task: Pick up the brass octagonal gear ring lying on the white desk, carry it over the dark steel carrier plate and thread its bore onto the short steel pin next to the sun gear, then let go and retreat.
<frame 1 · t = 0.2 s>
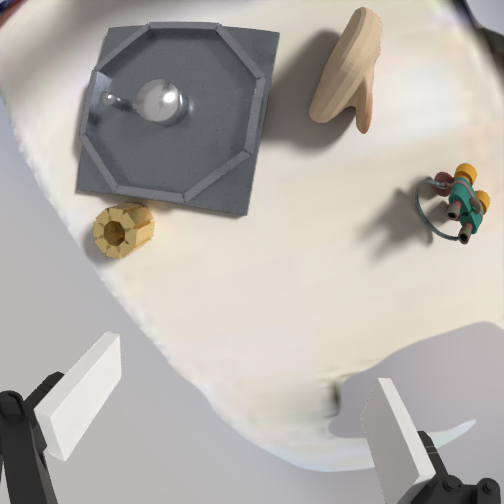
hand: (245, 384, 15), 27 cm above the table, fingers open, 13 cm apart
binoculars: (441, 198, 38), on the table
carrier: (171, 109, 37), on the table
planet gear: (133, 225, 41), on the table
brown rounded piece: (351, 79, 35), on the table
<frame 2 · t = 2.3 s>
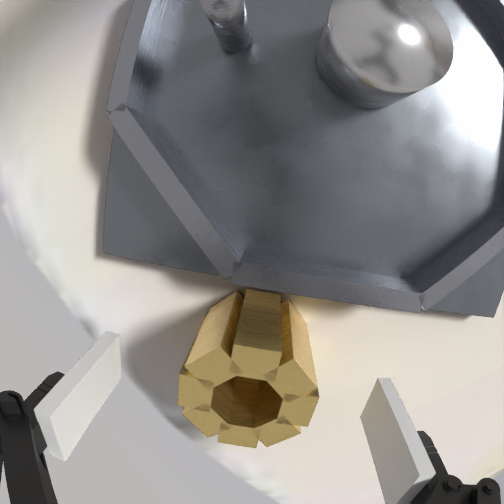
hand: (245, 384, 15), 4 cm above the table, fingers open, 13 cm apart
carrier: (358, 70, 14), on the table
planet gear: (254, 337, 19), on the table
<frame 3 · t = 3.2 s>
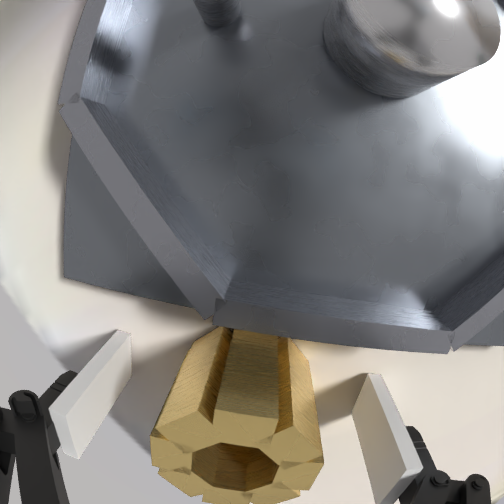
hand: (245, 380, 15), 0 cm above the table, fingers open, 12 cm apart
carrier: (374, 52, 11), on the table
planet gear: (246, 376, 15), on the table
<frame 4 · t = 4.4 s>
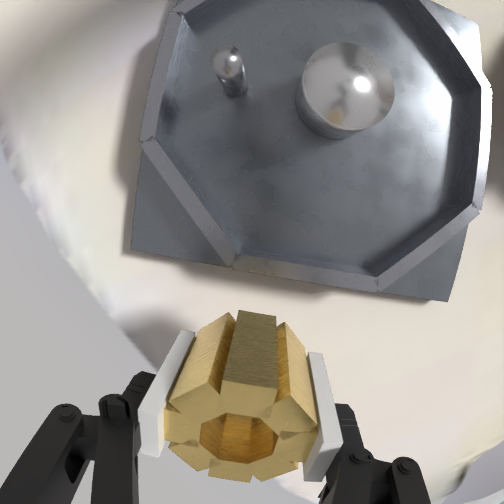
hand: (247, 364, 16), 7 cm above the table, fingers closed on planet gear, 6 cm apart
carrier: (329, 107, 20), on the table
planet gear: (248, 361, 17), point 7 cm above the table, touching gripper
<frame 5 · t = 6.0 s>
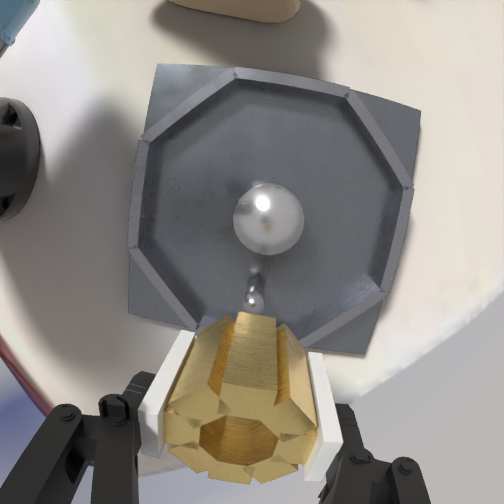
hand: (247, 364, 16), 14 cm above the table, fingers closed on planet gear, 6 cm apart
carrier: (269, 210, 28), on the table
planet gear: (247, 363, 17), point 14 cm above the table, touching gripper
when the fingers open (3 cm above the table, at t = 7.9 s): planet gear drops 1 cm, resting on carrier.
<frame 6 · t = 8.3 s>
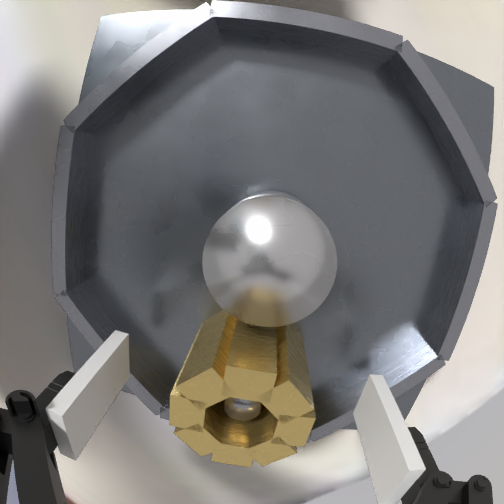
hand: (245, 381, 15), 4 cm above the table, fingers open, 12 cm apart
carrier: (270, 234, 18), on the table
planet gear: (249, 352, 18), point 1 cm above the table, touching carrier
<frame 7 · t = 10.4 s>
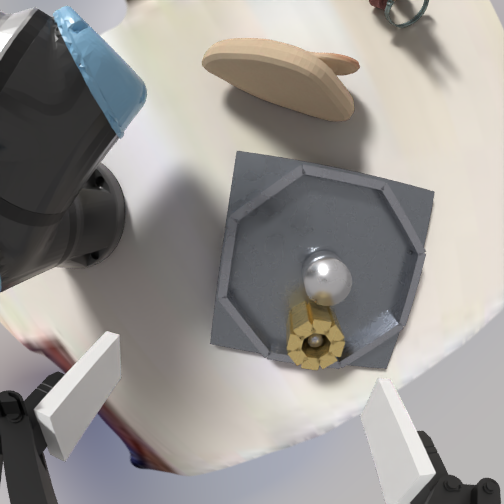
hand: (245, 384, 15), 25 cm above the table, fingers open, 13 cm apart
binoculars: (389, 2, 30), on the table
carrier: (321, 268, 38), on the table
planet gear: (311, 322, 38), point 1 cm above the table, touching carrier
brown rounded piece: (285, 78, 34), on the table
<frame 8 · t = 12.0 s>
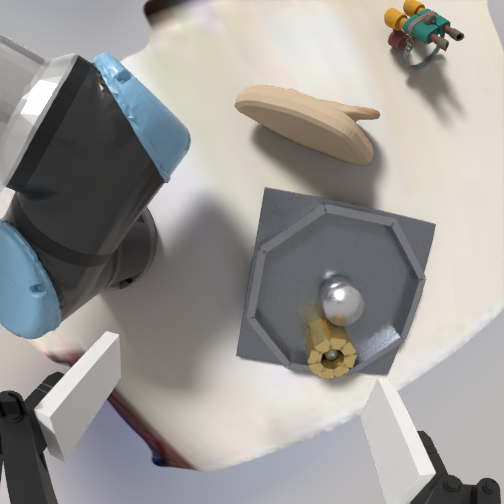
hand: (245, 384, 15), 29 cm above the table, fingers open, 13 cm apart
binoculars: (405, 41, 34), on the table
carrier: (335, 290, 43), on the table
planet gear: (325, 336, 43), point 1 cm above the table, touching carrier
brown rounded piece: (308, 117, 38), on the table
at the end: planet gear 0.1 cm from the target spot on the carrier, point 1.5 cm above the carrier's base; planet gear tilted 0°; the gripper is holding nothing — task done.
